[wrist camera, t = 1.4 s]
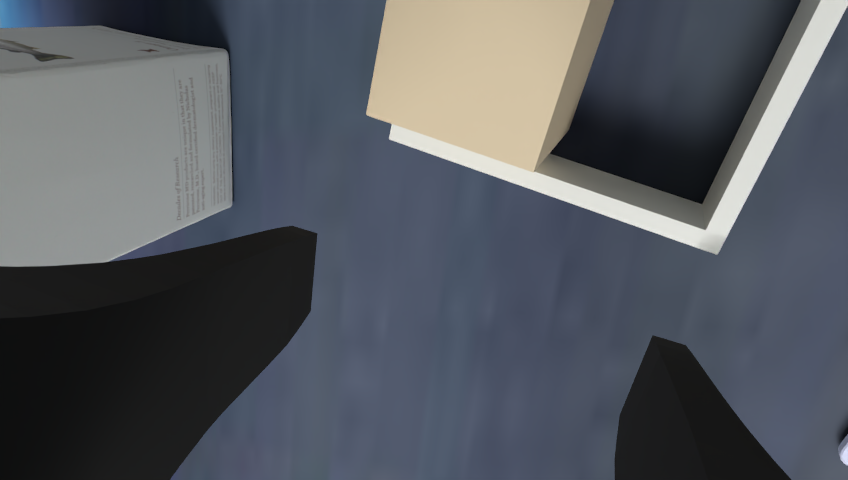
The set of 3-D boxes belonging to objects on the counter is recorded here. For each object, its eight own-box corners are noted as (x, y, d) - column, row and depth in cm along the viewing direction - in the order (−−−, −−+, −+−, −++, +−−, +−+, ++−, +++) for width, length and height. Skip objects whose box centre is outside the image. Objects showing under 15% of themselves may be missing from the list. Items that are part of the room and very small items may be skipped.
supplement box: (233, 46, 24) (-126, 80, 13) (236, 209, 27) (-54, 345, 16) (100, 19, 26) (-303, 30, 15) (116, 173, 29) (-210, 273, 19)
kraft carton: (622, -23, 18) (601, -34, 13) (569, 129, 20) (533, 172, 15) (474, -60, 19) (401, -83, 14) (439, 88, 22) (366, 114, 16)
